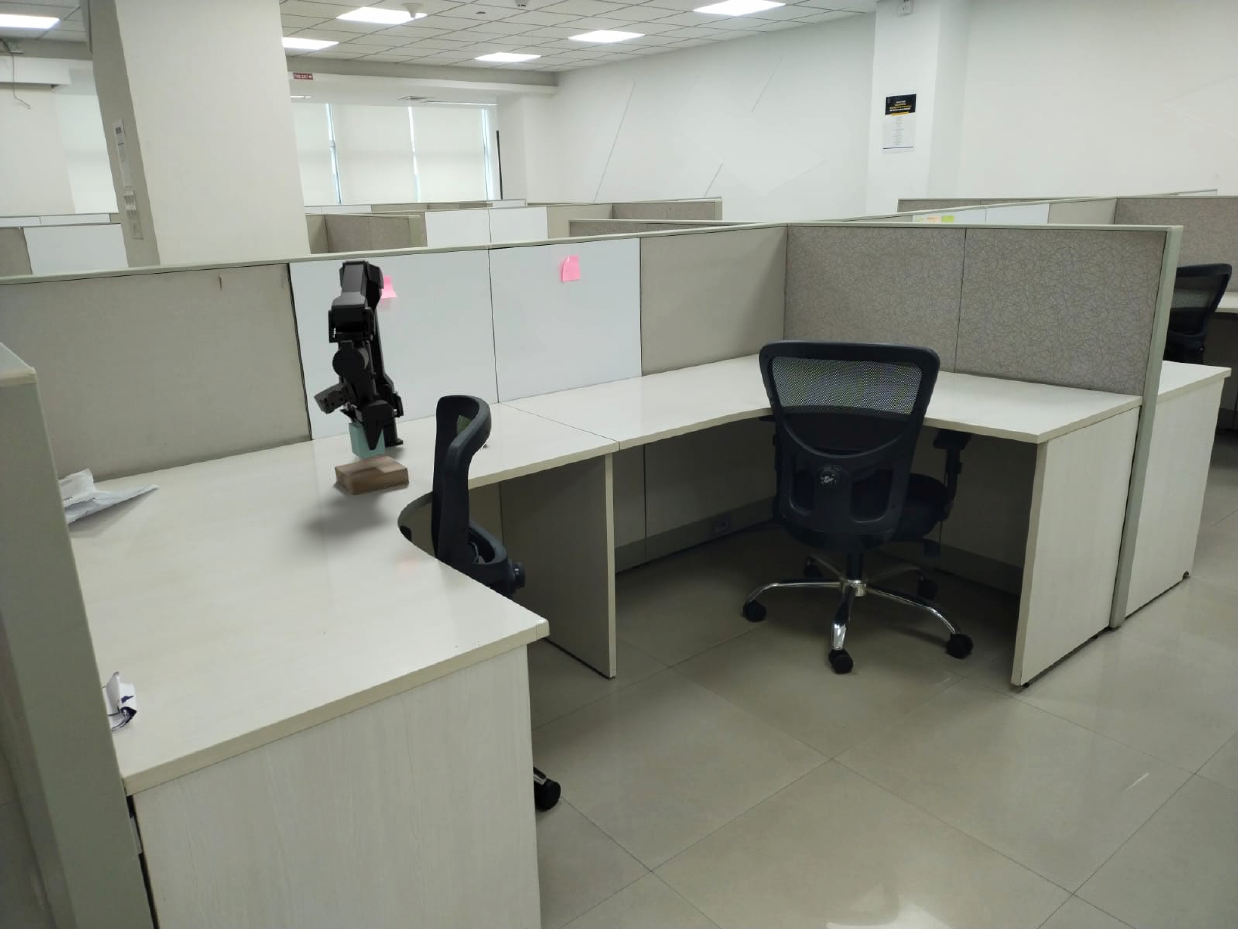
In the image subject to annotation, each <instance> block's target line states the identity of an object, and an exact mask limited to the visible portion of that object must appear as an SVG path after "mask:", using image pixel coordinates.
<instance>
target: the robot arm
mask: <svg viewBox="0 0 1238 929" xmlns="http://www.w3.org/2000/svg"><path fill="white" fill-rule="evenodd" d="M341 264H342V266H341V267H340V268H339V269H338V270H339V272H338V273H339V274H338V275H339V285H340V288H341V291H340V295H339V296H338V297H335V298H334V299H333V300H332V302H331V305H330V306H331V307H330V309H328V310H327V318H328V319H327V322H328V324H327V326H328V328H327V329H328V343H329V344H337V351H336V352H335V353H334V355H333V357H332V361H331V364H332V365H331V366H332V368H333V371H334V372H335V373H336V374H337V375H338V383H336V384H334V385H331V386H328V387H327V388H325V389H324V390H322V391H320V392H318V393H317V394H314V396H313V399H314V400H315V403H317V406H318V407H319V409H320V411H321V412H323V413H324V414H326V415H329V414H332V413H334V412H335V410H337V409H339V408H341V407H342V408H341V409H339V412H340V413H342V414H343V415H344V416H346V417H348V418H349V420H350V423H352V422H358V423H360V424H361V425H362V427H363V430H364V434H365V437H366V440H367V444H368V447H369V449H370V450H375V449H376V447H377V444H378V441H379V438H380V435H381V432H382V429H383V436H384V444H385V447H389V446H394V445H399V444H404V440H403V439H401V438H399V437H398V428H397V421H396V420H397V418H398V419H400V418H401V417H403V416H405V413H404V405H403V400H402V397H401V396H400V394H399V392H398V390H395V382H394V381H393V380H392V378H390V376H389V375H388V374H387V373H386V369H385V364H384V354H383V349H382V348H383V347H382V339H381V332H380V324H379V317H378V310H377V307H378V305H379V302H380V300H381V298H382V295H383V291H382V290H384V288H385V286H384V285H385V282H384V275H383V272H382V270H381V267H380V266H377V265H374V264H372V263H370V262H369V260H365V259H352V260H351V259H349V260H347V259H346V260H345V261H342V263H341Z"/></svg>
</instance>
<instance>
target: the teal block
mask: <svg viewBox="0 0 1238 929" xmlns="http://www.w3.org/2000/svg"><path fill="white" fill-rule="evenodd" d="M348 430H349V437H350V445H351V451H352V454H354V455H355V456H357V457H358V458H359V459H364V458H368V457H373V456H379V455H382V454H386V453H387V452H386V446H385V444H384V436H383V429H382V432H381V435H380V438H379V441H378V444H377V447H376V449H375V450H370V449H369V447H368V444H367V440H366V437H365V434H364V430H363V427H362V425H361V424H360V423H358V422H349V423H348Z"/></svg>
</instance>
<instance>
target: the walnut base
mask: <svg viewBox="0 0 1238 929" xmlns="http://www.w3.org/2000/svg"><path fill="white" fill-rule="evenodd" d="M408 469H409V468H408V467H406V466H405V465H403V464H402V463H400V462H399V461H396V460H395V459H394V458H392V457H390V456H389V455H386V456H385V455H384V456H381V457H376V458H372V459H365V460H361V461H356V462H352V463H351V462H350V463H347V464H341V465H336V466H334V472H335V479H336V480H335V481H337V482H338V484H340V485H342V487H344V488H345V489H346V490H347V491H349V492H350V493H351V494H353V495H355V496H356V495H359V494H364V493H369V492H373V491H376V490H381V489H386V488H391V487H395V486H400V485H406V484H408V483H410V477H409V470H408Z"/></svg>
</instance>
